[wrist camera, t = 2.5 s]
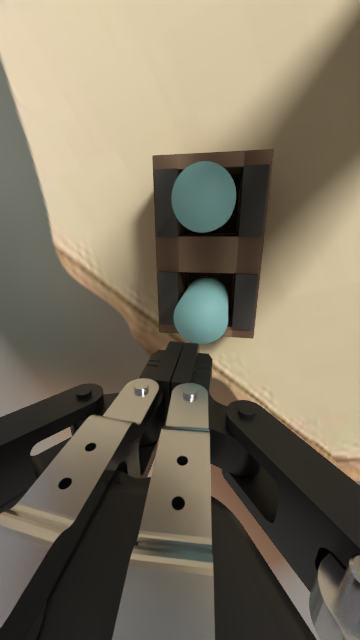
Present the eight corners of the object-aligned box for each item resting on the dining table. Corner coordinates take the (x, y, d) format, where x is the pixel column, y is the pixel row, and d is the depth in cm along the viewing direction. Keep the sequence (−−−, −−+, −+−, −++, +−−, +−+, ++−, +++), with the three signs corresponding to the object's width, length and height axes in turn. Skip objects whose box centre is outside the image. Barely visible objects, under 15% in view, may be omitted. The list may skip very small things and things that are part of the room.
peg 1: (236, 176, 20) (238, 159, 15) (232, 230, 21) (233, 232, 16) (185, 177, 21) (170, 162, 15) (185, 230, 22) (171, 232, 17)
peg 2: (229, 277, 23) (229, 293, 18) (227, 318, 24) (226, 346, 19) (185, 275, 24) (173, 291, 18) (185, 316, 25) (173, 342, 20)
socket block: (263, 166, 24) (274, 147, 18) (248, 316, 29) (253, 340, 23) (169, 170, 25) (151, 154, 19) (171, 312, 31) (158, 333, 25)
